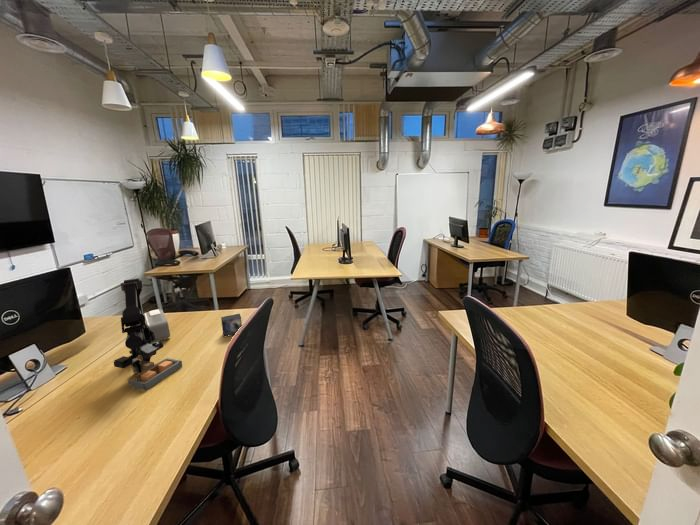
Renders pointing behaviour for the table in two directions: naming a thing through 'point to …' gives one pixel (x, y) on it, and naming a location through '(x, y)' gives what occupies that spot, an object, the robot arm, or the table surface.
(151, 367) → the brown angular piece
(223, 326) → the small box
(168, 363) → the orange cube
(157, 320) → the light grey rounded block
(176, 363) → the tray
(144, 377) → the chip
